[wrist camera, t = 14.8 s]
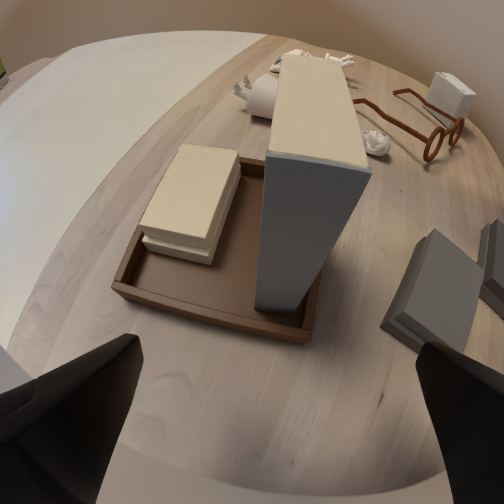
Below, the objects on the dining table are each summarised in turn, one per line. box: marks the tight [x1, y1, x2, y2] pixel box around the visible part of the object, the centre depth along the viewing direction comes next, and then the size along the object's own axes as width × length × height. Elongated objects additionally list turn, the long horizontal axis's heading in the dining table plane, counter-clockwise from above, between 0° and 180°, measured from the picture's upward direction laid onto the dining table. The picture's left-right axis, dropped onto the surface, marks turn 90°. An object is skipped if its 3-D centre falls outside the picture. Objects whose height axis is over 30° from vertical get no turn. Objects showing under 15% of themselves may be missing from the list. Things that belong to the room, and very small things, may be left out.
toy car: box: [270, 49, 354, 72], centre depth 32 cm, size 6×12×4 cm, turn 75°
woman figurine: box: [234, 74, 391, 156], centre depth 26 cm, size 12×4×18 cm
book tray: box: [111, 151, 322, 344], centre depth 20 cm, size 13×13×2 cm
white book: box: [254, 53, 372, 314], centre depth 13 cm, size 7×2×13 cm, turn 172°
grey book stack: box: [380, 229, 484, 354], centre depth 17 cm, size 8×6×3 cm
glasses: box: [353, 88, 464, 162], centre depth 27 cm, size 13×13×5 cm
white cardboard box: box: [423, 72, 477, 128], centre depth 29 cm, size 6×6×7 cm
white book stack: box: [139, 144, 241, 265], centre depth 20 cm, size 8×5×3 cm, turn 167°
